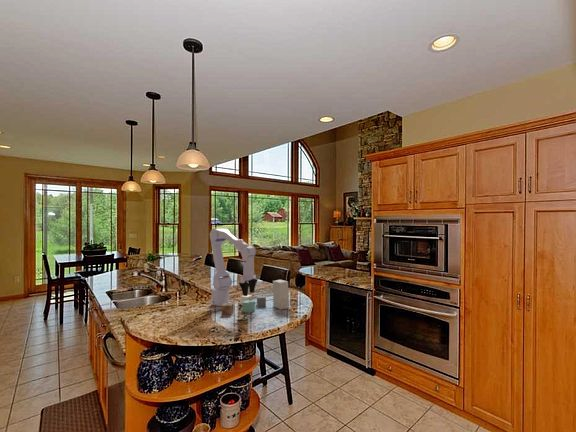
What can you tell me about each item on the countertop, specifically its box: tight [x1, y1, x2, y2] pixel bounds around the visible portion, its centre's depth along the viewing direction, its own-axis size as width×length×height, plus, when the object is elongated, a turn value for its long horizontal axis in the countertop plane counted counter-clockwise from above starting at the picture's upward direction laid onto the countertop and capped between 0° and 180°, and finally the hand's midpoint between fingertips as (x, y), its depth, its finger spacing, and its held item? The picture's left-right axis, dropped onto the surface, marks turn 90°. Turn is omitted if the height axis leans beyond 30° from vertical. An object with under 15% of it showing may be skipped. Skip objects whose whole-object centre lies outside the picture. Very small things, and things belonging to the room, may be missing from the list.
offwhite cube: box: [239, 294, 254, 306], centre depth 174 cm, size 5×5×5 cm
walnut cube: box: [221, 302, 235, 316], centre depth 156 cm, size 5×5×5 cm
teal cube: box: [241, 300, 256, 314], centre depth 161 cm, size 5×5×5 cm
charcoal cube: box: [256, 295, 267, 308], centre depth 171 cm, size 5×5×5 cm
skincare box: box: [272, 279, 290, 310], centre depth 167 cm, size 8×6×15 cm
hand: (248, 294), depth 161 cm, fingers open, 7 cm apart
